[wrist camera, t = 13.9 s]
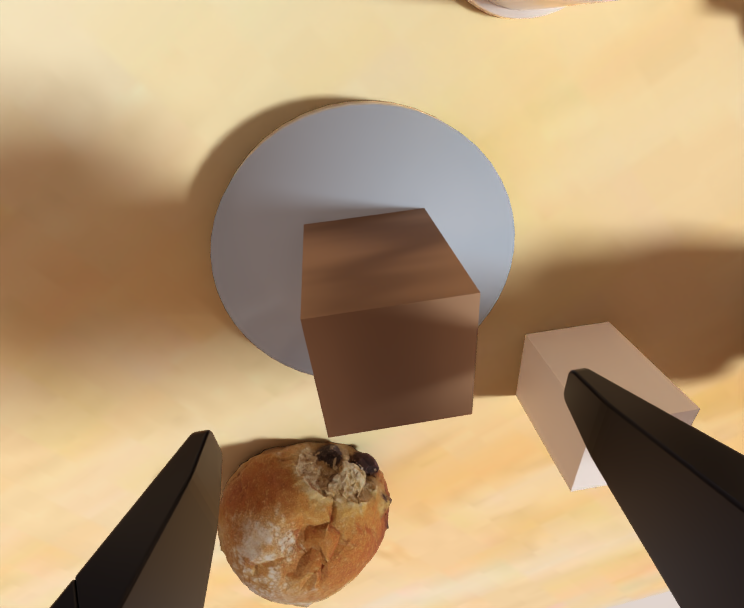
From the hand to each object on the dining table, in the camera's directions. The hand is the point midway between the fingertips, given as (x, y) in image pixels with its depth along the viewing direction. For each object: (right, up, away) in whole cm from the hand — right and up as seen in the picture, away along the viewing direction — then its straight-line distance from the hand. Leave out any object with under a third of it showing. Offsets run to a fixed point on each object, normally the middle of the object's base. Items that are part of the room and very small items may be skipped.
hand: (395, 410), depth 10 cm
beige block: (+10, 0, +12) cm, 16 cm away
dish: (-1, +5, +7) cm, 9 cm away
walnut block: (-1, +4, +6) cm, 7 cm away
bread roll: (-5, -9, +16) cm, 19 cm away
